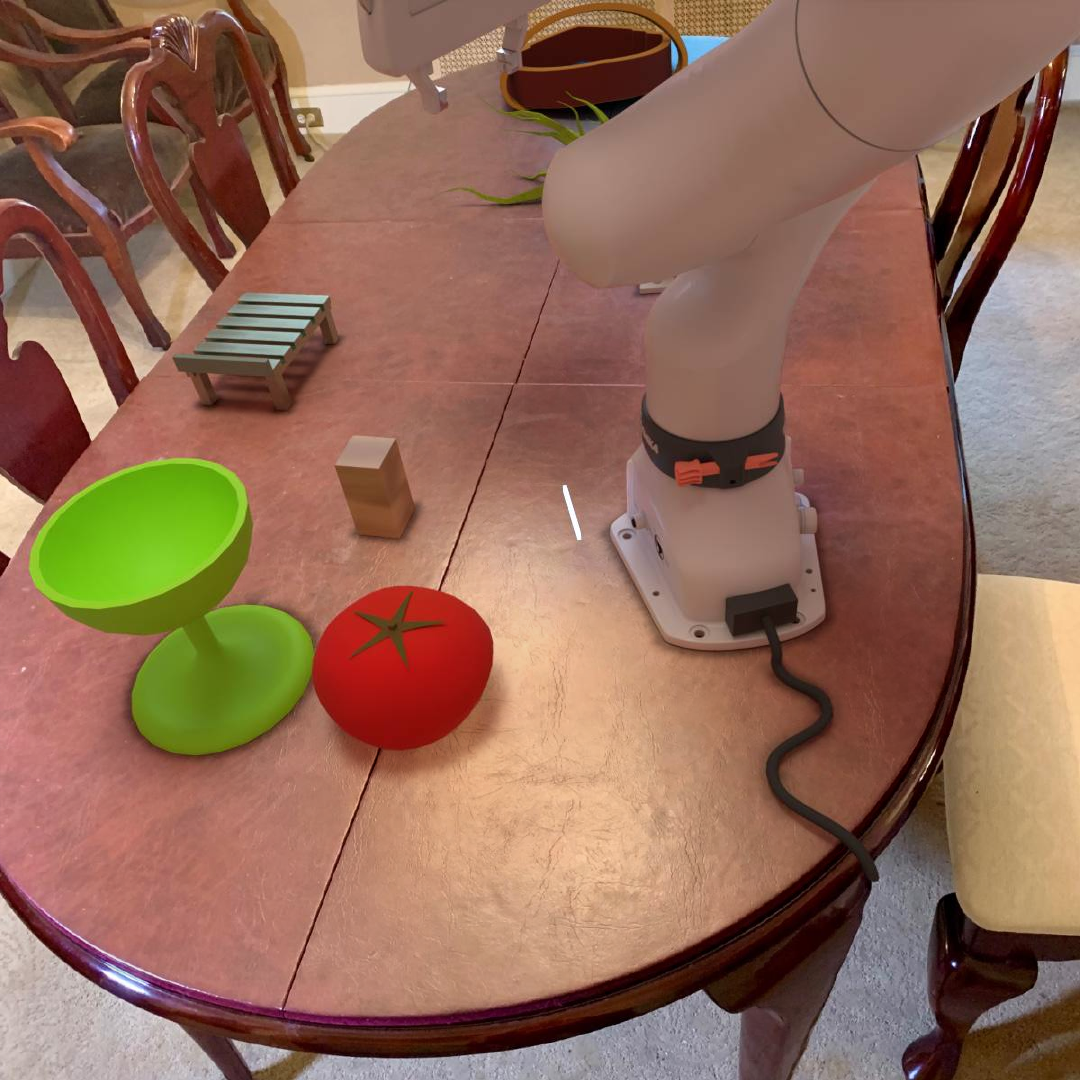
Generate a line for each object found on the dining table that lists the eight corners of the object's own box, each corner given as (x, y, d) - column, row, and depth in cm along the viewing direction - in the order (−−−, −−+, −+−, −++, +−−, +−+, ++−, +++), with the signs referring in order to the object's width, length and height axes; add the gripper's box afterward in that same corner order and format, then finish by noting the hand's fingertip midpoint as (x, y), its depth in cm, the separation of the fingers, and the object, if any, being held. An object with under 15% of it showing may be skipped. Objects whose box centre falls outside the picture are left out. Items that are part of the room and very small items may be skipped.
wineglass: (165, 611, 88) (79, 464, 76) (330, 602, 87) (270, 451, 74) (104, 758, 77) (-10, 614, 64) (292, 751, 75) (213, 603, 63)
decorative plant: (491, 163, 155) (477, 68, 144) (658, 181, 142) (655, 79, 132) (432, 211, 144) (412, 112, 134) (607, 235, 132) (599, 129, 121)
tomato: (319, 777, 73) (278, 698, 66) (343, 649, 82) (310, 567, 75) (500, 765, 72) (479, 684, 65) (504, 637, 81) (486, 552, 74)
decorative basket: (675, 69, 182) (671, -20, 173) (703, 98, 158) (700, -4, 150) (502, 96, 183) (490, 9, 175) (505, 129, 160) (490, 30, 151)
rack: (285, 416, 109) (265, 362, 104) (195, 410, 112) (171, 357, 107) (342, 337, 120) (326, 284, 115) (259, 333, 123) (240, 281, 118)
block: (374, 504, 96) (352, 434, 90) (415, 508, 95) (396, 438, 89) (357, 534, 93) (333, 465, 87) (399, 539, 92) (378, 468, 86)
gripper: (376, -43, 67) (413, 145, 78) (564, -121, 77) (574, 56, 87) (321, -55, 70) (364, 127, 81) (508, -129, 80) (525, 43, 90)
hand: (474, 90), depth 84 cm, fingers open, 8 cm apart
